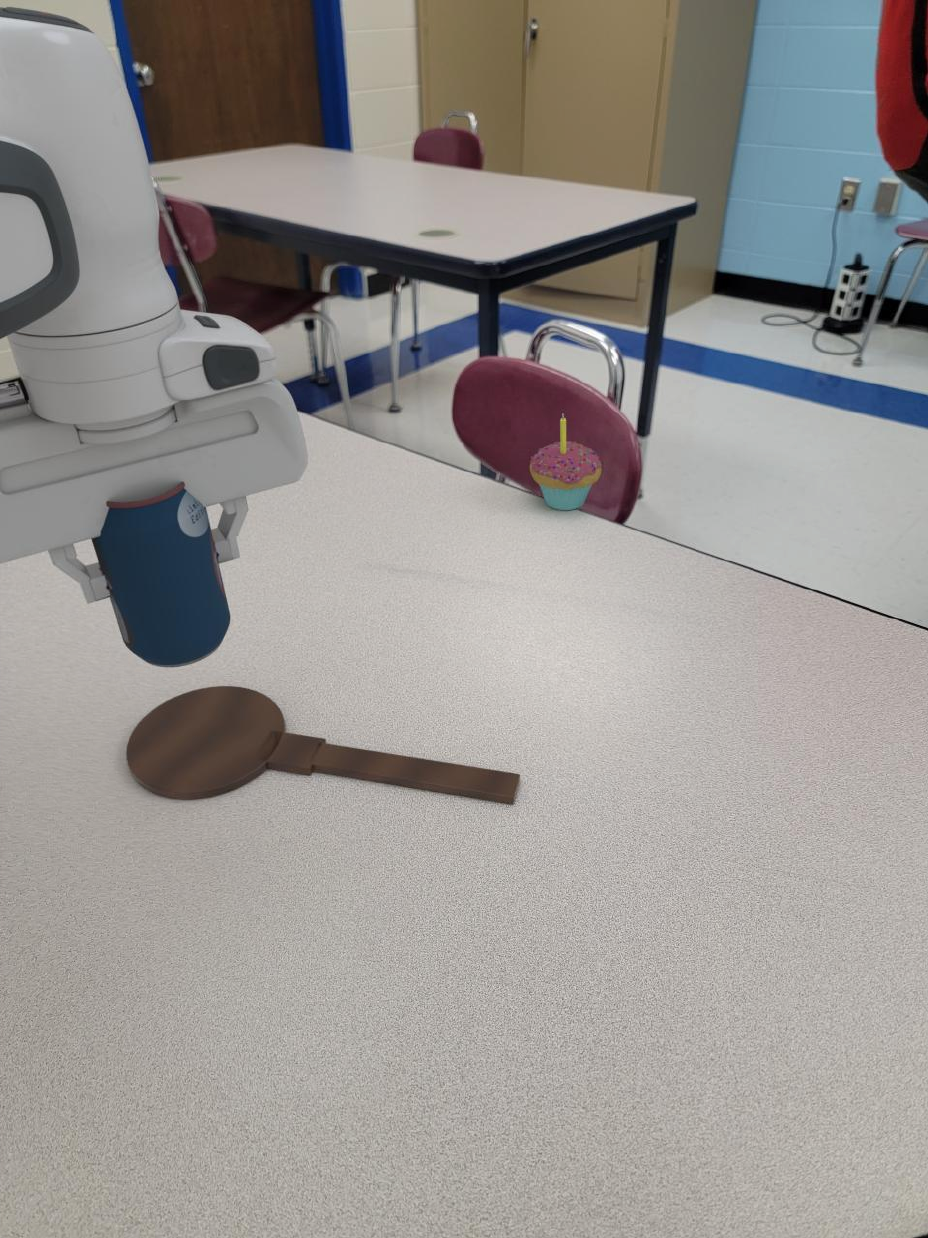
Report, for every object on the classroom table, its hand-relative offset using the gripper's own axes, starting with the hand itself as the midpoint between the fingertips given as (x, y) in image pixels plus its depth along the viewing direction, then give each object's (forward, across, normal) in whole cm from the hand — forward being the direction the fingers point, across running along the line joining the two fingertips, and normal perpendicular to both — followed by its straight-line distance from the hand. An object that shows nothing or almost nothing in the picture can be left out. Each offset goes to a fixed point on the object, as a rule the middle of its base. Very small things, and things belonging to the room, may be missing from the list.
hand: (164, 576), depth 57 cm
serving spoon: (+22, +8, +1) cm, 23 cm away
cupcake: (+22, +51, +27) cm, 62 cm away
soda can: (+5, 0, 0) cm, 5 cm away
